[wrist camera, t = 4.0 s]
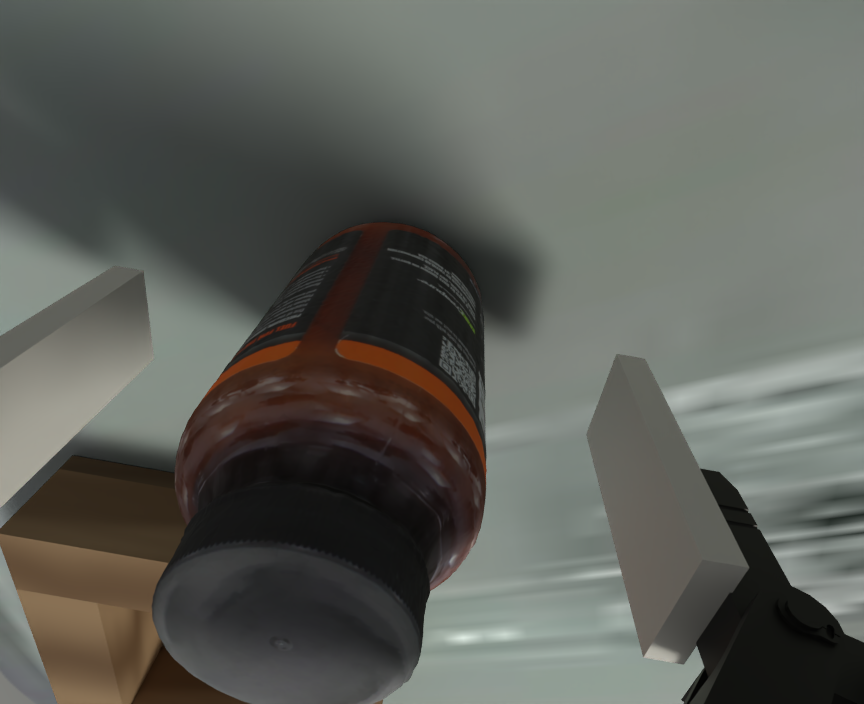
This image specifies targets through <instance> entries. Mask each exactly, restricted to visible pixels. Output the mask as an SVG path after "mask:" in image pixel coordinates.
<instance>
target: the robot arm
mask: <svg viewBox="0 0 864 704" xmlns="http://www.w3.org/2000/svg"><path fill="white" fill-rule="evenodd" d="M153 359H154V354H153V346H152V337H151V329H150V321H149V313H148V304H147V296H146V288H145V280H144V272H143V270H137V269H131V268H126V267H120V266H113V267H112V268H110V269H108V270H107V271H105V272H104V273H102V274H100V275H99V276H97V277H96V278H94V279H92V280H91V281H89V282H87V283H86V284H84V285H83V286H81V287H79V288H78V289H76V290H74V291H73V292H71V293H70V294H68V295H66V296H65V297H63V298H61V299H60V300H58V301H57V302H55V303H53V304H52V305H50V306H48V307H47V308H45V309H44V310H42V311H40V312H39V313H37V314H35V315H34V316H32V317H31V318H29V319H27V320H26V321H24V322H22V323H21V324H19V325H18V326H16V327H14V328H13V329H11V330H10V331H8V332H6V333H5V334H3V335H1V336H0V508H1V507H2V506H3V505H4V504H5V503H6V502H7V501H8V500H9V499H10V498H11V497H12V496H13V495H14V494H15V493H16V492H17V491H18V490H19V489H20V488H22V487H23V486H24V485H25V484H26V483H27V482H28V481H29V480H30V479H31V478H32V477H33V476H34V475H35V474H36V473H37V472H38V471H39V470H40V469H41V468H42V467H43V466H44V465H45V464H46V463H47V462H48V461H49V460H50V459H51V458H52V457H53V456H54V455H55V454H57V453H58V452H59V451H60V450H61V449H62V448H63V447H64V446H65V445H66V444H67V443H68V442H69V441H70V440H71V439H72V438H73V437H74V436H75V435H76V434H77V433H78V432H79V431H80V430H81V429H82V428H83V427H84V426H85V425H86V424H87V423H88V422H89V421H90V420H92V419H93V418H94V417H95V416H96V415H97V414H98V413H99V412H100V411H101V410H102V409H103V408H104V407H105V406H106V405H107V404H108V403H109V402H110V401H111V400H112V399H113V398H114V397H115V396H116V395H117V394H118V393H119V392H120V391H121V390H122V389H123V388H124V387H125V386H127V385H128V384H129V383H130V382H131V381H132V380H133V379H134V378H135V377H136V376H137V375H138V374H139V373H140V372H141V371H142V370H143V369H144V368H145V367H146V366H147V365H148V364H149V363H150V362H151V361H152V360H153ZM586 435H587V439H588V443H589V447H590V451H591V455H592V459H593V462H594V466H595V470H596V474H597V478H598V482H599V486H600V490H601V494H602V498H603V502H604V505H605V509H606V513H607V517H608V521H609V525H610V529H611V533H612V537H613V541H614V544H615V548H616V552H617V556H618V560H619V564H620V568H621V572H622V576H623V580H624V584H625V587H626V591H627V595H628V599H629V603H630V607H631V611H632V615H633V619H634V623H635V626H636V630H637V634H638V638H639V642H640V646H641V650H642V654H643V657H644V658H650V659H655V660H661V661H667V662H673V663H678V664H684V663H685V662H686V661H687V659H688V658H689V656H690V655H691V653H692V652H693V650H694V649H695V647H696V646H697V647H698V650H699V653H700V655H701V658H702V661H703V664H704V669H703V670H702V671H701V673H700V674H699V676H698V677H697V678H696V680H695V681H694V683H693V684H692V685H691V687H690V688H689V690H688V691H687V692H686V694H685V695H684V697H683V698H682V699H681V700H682V701H684V704H864V642H861V641H859V640H857V639H854V638H852V637H850V636H848V635H846V634H844V632H843V630H842V628H841V626H840V624H839V623H838V621H837V620H836V619H835V618H834V616H833V615H832V614H831V613H830V612H829V611H828V610H827V609H826V607H824V606H823V605H822V604H821V603H819V602H818V601H817V600H815V599H814V598H813V597H811V596H810V595H808V594H806V593H804V592H802V591H800V590H798V589H796V588H794V587H792V586H791V585H790V583H789V581H788V579H787V578H786V576H785V574H784V572H783V570H782V569H781V567H780V565H779V563H778V561H777V560H776V558H775V556H774V554H773V553H772V551H771V549H770V547H769V545H768V544H767V542H766V540H765V538H764V536H763V535H762V533H761V531H760V530H759V529H757V524H756V522H755V520H754V519H753V517H752V515H751V513H748V508H747V506H746V504H745V502H744V501H743V499H742V497H741V495H740V494H739V492H738V490H737V489H736V488H735V487H734V486H733V485H732V484H731V483H730V482H729V481H728V480H727V479H726V478H725V477H724V476H723V475H722V474H721V473H720V472H716V471H711V470H705V469H700V468H699V466H698V464H697V462H696V460H695V458H694V456H693V454H692V452H691V450H690V448H689V446H688V444H687V442H686V440H685V438H684V436H683V434H682V432H681V430H680V428H679V426H678V424H677V422H676V420H675V418H674V416H673V414H672V412H671V410H670V408H669V406H668V404H667V402H666V400H665V398H664V396H663V394H662V392H661V390H660V388H659V386H658V384H657V382H656V380H655V378H654V376H653V374H652V372H651V370H650V368H649V366H648V364H647V362H646V360H645V359H643V358H637V357H632V356H626V355H620V354H617V355H616V357H615V360H614V363H613V365H612V368H611V370H610V373H609V376H608V378H607V381H606V384H605V386H604V389H603V392H602V394H601V397H600V400H599V402H598V405H597V407H596V410H595V413H594V415H593V418H592V421H591V423H590V426H589V429H588V431H587V434H586Z"/></svg>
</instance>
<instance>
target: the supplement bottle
mask: <svg viewBox="0 0 864 704" xmlns="http://www.w3.org/2000/svg"><path fill="white" fill-rule="evenodd" d="M484 361H485V360H484V315H483V308H482V301H481V293H480V290H479V288H478V286H477V283H476V281H475V278H474V276H473V274H472V273H471V271H470V269H469V267H468V266H467V264H466V263H465V262H464V261H463V260H462V258H461V257H460V256H459V254H457V253H456V252H455V251H454V250H453V249H452V248H451V247H450V246H449V245H448V244H446V243H445V242H444V241H442V240H441V239H438V238H437V237H436V236H435V235H433V234H431V233H429V232H427V231H424V230H422V229H419V228H416V227H413V226H409V225H405V224H399V223H388V222H377V223H367V224H361V225H357V226H353V227H350V228H348V229H346V230H343V231H341V232H339V233H338V234H336V235H334V236H333V237H331V238H330V239H328V240H327V241H326V242H324V243H323V244H322V245H321V246H320V247H319V248H318V249H317V250H316V251H315V252H314V253H313V254H312V255H311V256H310V257H309V258H308V259H307V260H306V262H305V263H304V264H303V265H302V266H301V268H300V269H299V271H298V272H297V273H296V274H295V276H294V277H293V278H292V280H291V281H290V283H289V284H288V286H287V287H286V288H285V289H284V291H283V292H282V293H281V295H280V296H279V297H278V299H277V300H276V301H275V302H274V304H273V305H272V306H271V308H270V309H269V311H268V312H267V313H266V315H265V316H264V317H263V319H262V320H261V322H260V323H259V324H258V326H257V327H256V328H255V329H254V331H253V332H252V333H251V335H250V336H249V337H248V339H247V340H246V341H245V343H244V344H243V345H242V347H241V348H240V349H239V351H238V352H237V353H236V355H235V356H234V357H233V359H232V360H231V362H230V363H228V365H227V366H226V368H225V369H224V371H223V372H222V374H221V375H220V377H219V378H218V380H217V381H216V382H215V383H214V384H213V386H212V387H211V388H210V390H209V391H208V392H207V394H206V395H205V397H204V398H203V399H202V401H201V402H200V404H199V405H198V406H197V408H196V409H195V411H194V412H193V414H192V416H191V417H190V419H189V421H188V422H187V425H186V428H185V430H184V432H183V434H182V436H181V440H180V444H179V447H178V451H177V455H176V466H175V490H176V495H177V500H178V504H179V509H180V511H181V514H182V516H183V519H184V521H185V523H186V525H187V527H186V528H185V531H184V536H183V537H182V538H181V542H180V544H179V546H178V547H177V549H176V551H175V553H174V555H173V557H172V559H171V560H170V562H169V563H168V565H167V567H166V568H165V570H164V572H163V574H162V575H161V577H160V579H159V581H158V583H157V585H156V588H155V592H154V595H153V602H152V606H151V607H152V618H153V622H154V625H155V627H156V630H157V633H158V636H159V638H160V639H161V641H162V642H163V644H164V646H165V648H166V650H167V651H168V652H169V653H170V655H171V656H172V657H173V659H175V660H176V661H177V662H178V663H179V664H180V665H182V666H183V667H184V668H185V669H186V670H187V671H188V672H189V673H191V674H192V675H193V676H195V677H196V678H198V679H200V680H201V681H203V682H205V683H206V684H208V685H210V686H211V687H213V688H215V689H216V690H218V691H220V692H222V693H225V694H227V695H229V696H231V697H234V698H236V699H238V700H241V701H244V702H247V703H250V704H374V703H376V702H378V701H381V700H383V699H384V698H386V697H387V696H388V695H390V694H391V693H393V692H394V691H395V690H397V689H398V688H400V687H401V686H402V685H403V683H405V682H407V681H408V680H409V679H410V678H411V675H412V673H413V670H414V669H415V667H416V665H417V664H418V661H419V657H420V653H421V647H422V639H423V625H424V614H425V608H426V602H427V600H428V597H429V594H430V591H431V590H432V589H434V588H435V587H437V586H438V585H440V584H441V583H442V582H444V581H445V580H446V579H448V578H449V577H450V576H451V575H452V573H453V572H455V571H456V570H457V568H458V567H459V566H460V565H461V563H462V561H463V560H464V559H465V558H466V557H467V555H468V554H469V551H470V549H471V548H472V547H473V546H474V544H475V543H476V539H477V536H478V533H479V531H480V528H481V523H482V519H483V513H484V505H485V496H486V441H485V374H484V373H485V368H484Z"/></svg>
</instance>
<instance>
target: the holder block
mask: <svg viewBox="0 0 864 704" xmlns="http://www.w3.org/2000/svg"><path fill="white" fill-rule="evenodd" d="M186 527H187V525H186V523H185V521H184V519H183V516H182V514H181V511H180V509H179V504H178V500H177V495H176V490H175V473H170V472H165V471H159V470H153V469H147V468H142V467H136V466H130V465H124V464H119V463H113V462H107V461H101V460H96V459H90V458H84V457H79V456H72V457H71V458H70V459H69V460H68V461H67V462H66V463H65V464H64V465H63V466H62V467H61V468H60V469H59V470H58V471H57V472H56V473H55V474H54V475H53V476H52V477H51V478H50V479H49V480H48V481H47V482H46V483H45V484H44V485H43V486H42V487H41V488H40V489H39V490H38V491H37V492H36V493H35V494H34V495H33V496H32V497H31V498H30V499H29V500H28V501H27V502H26V503H25V504H24V505H23V506H22V507H21V508H20V509H19V510H18V511H17V512H16V513H15V514H14V515H13V516H12V517H11V518H10V519H9V520H8V521H7V522H6V523H5V524H4V525H3V526H2V527H1V528H0V546H1V548H2V551H3V554H4V557H5V560H6V562H7V565H8V568H9V571H10V573H11V576H12V579H13V582H14V584H15V587H16V590H17V593H18V595H19V598H20V601H21V604H22V607H23V609H24V612H25V615H26V618H27V620H28V623H29V626H30V629H31V631H32V634H33V637H34V640H35V642H36V645H37V648H38V651H39V653H40V656H41V659H42V662H43V665H44V667H45V670H46V673H47V676H48V678H49V681H50V684H51V687H52V689H53V692H54V695H55V698H56V700H57V703H58V704H250V703H247V702H244V701H241V700H238V699H236V698H234V697H231V696H229V695H227V694H225V693H222V692H220V691H218V690H216V689H215V688H213V687H211V686H210V685H208V684H206V683H205V682H203V681H201V680H200V679H198V678H196V677H195V676H193V675H192V674H191V673H189V672H188V671H187V670H186V669H185V668H184V667H183V666H182V665H180V664H179V663H178V662H177V661H176V660H175V659H173V657H172V656H171V655H170V653H169V652H168V651H167V650H166V648H165V646H164V644H163V642H162V641H161V639H160V638H159V636H158V633H157V630H156V627H155V625H154V622H153V618H152V607H151V606H152V602H153V595H154V592H155V588H156V585H157V583H158V581H159V579H160V577H161V575H162V574H163V572H164V570H165V568H166V567H167V565H168V563H169V562H170V560H171V559H172V557H173V555H174V553H175V551H176V549H177V547H178V546H179V544H180V542H181V538H182V537H183V536H184V531H185V528H186ZM382 702H383V700H381V701H378V702H376V703H374V704H382Z"/></svg>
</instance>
